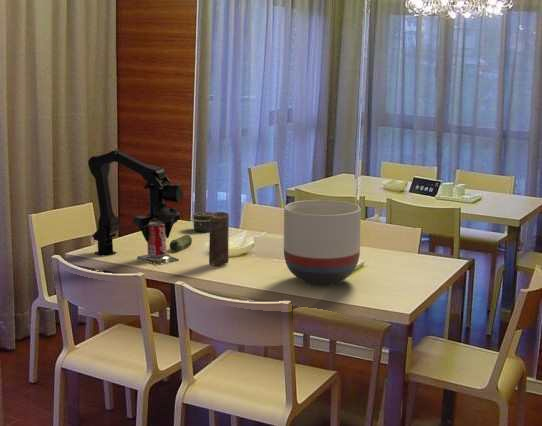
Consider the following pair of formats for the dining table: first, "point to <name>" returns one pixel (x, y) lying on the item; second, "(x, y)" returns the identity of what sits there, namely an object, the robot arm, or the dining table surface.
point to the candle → (218, 238)
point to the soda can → (156, 240)
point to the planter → (322, 240)
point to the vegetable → (180, 243)
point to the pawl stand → (158, 259)
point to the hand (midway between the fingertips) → (157, 239)
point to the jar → (202, 222)
